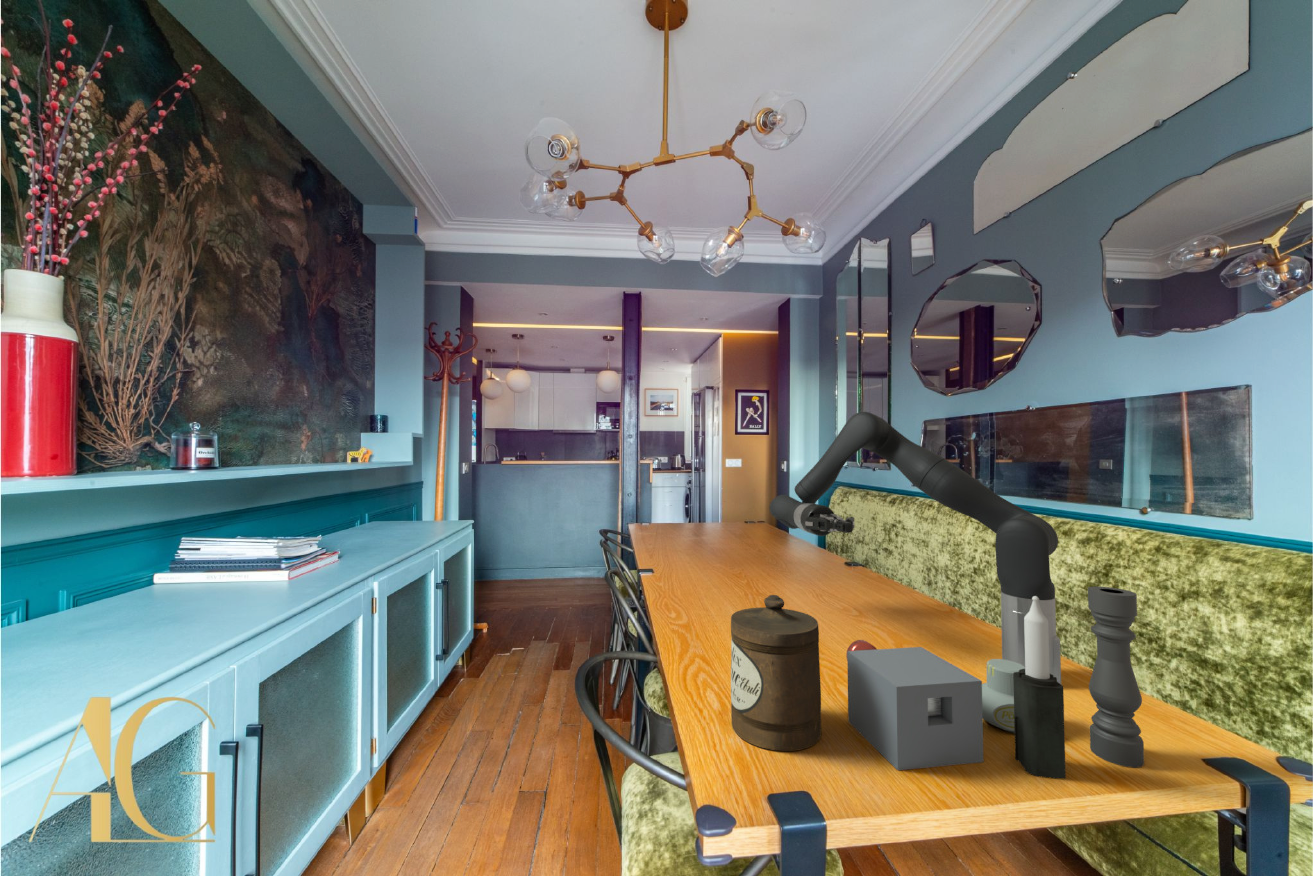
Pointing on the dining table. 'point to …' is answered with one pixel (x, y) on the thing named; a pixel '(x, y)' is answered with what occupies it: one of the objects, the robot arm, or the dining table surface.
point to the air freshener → (999, 693)
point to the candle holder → (1114, 678)
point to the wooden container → (775, 677)
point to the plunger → (933, 703)
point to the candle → (1038, 704)
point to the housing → (915, 707)
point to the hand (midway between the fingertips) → (849, 528)
